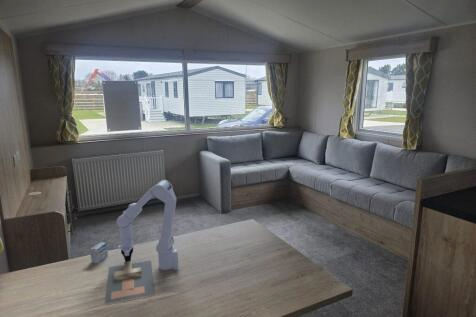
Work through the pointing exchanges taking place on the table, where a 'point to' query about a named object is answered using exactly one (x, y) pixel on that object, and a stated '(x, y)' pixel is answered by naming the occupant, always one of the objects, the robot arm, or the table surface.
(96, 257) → the medicine box
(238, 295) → the table surface
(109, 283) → the mat
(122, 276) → the t block
